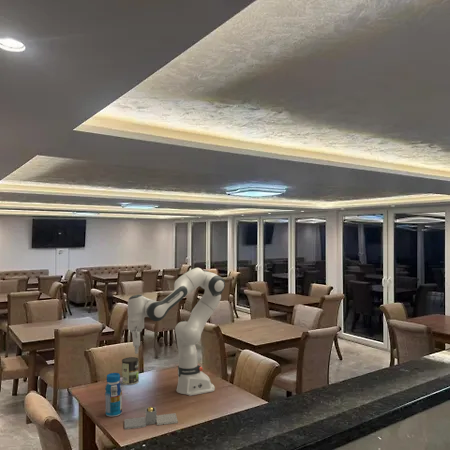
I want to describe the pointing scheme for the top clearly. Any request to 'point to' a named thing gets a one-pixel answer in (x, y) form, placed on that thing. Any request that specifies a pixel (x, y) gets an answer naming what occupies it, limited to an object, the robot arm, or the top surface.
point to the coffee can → (130, 371)
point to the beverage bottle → (113, 395)
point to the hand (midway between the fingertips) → (136, 350)
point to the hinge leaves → (150, 419)
